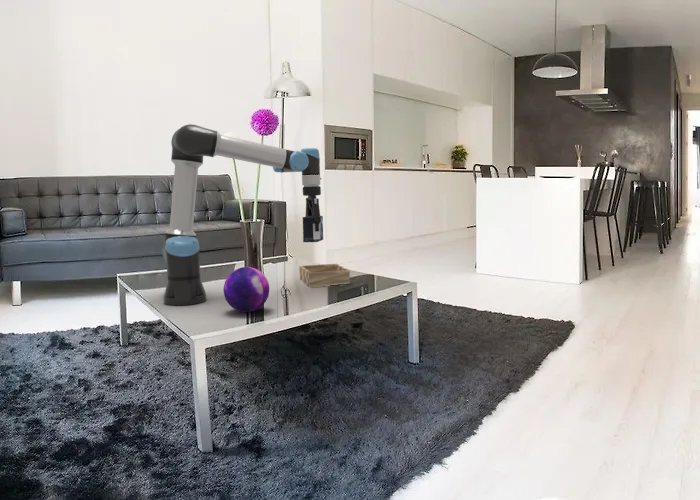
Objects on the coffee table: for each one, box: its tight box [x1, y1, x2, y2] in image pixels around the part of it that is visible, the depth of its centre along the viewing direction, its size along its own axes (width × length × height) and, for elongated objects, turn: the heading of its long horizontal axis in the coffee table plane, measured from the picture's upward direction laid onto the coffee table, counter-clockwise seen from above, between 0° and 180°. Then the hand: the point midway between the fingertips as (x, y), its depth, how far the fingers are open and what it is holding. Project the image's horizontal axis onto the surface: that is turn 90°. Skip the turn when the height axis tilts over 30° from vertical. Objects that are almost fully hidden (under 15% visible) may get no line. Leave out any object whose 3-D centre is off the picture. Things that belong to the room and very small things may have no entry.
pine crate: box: [298, 263, 351, 289], centre depth 244 cm, size 21×17×6 cm
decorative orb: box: [223, 266, 270, 313], centre depth 191 cm, size 15×15×15 cm
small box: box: [302, 215, 324, 243], centre depth 240 cm, size 11×6×10 cm, turn 169°
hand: (313, 238), depth 241 cm, fingers closed on small box, 12 cm apart
